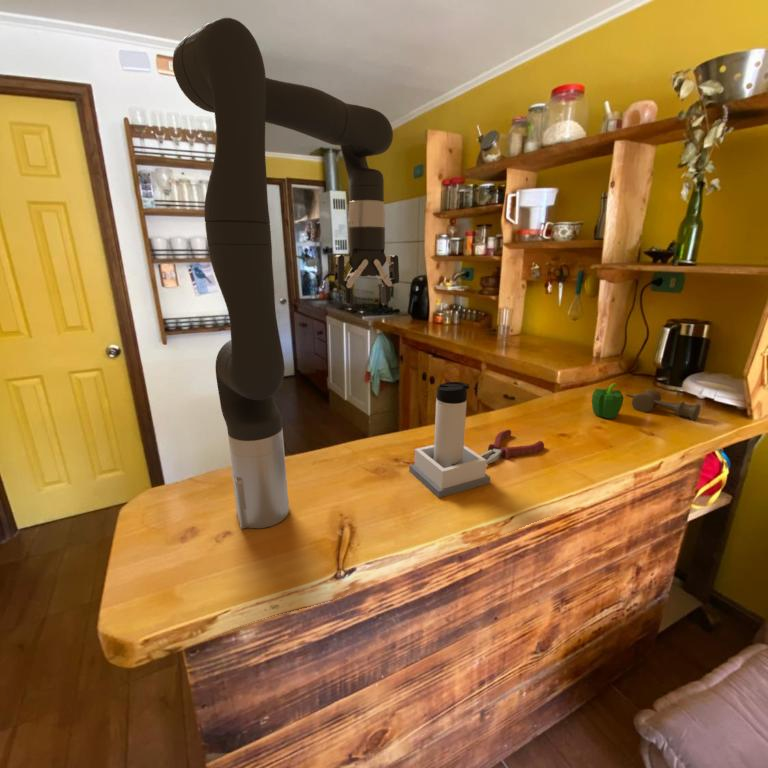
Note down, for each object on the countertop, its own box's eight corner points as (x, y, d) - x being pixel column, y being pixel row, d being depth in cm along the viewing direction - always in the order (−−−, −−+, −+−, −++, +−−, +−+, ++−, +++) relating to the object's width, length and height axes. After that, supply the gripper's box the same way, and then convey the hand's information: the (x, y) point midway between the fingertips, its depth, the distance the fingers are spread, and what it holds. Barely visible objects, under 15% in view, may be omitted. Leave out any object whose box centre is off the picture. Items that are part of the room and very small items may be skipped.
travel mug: (461, 479, 87) (467, 389, 81) (430, 474, 89) (433, 386, 83) (465, 465, 93) (471, 380, 87) (436, 461, 95) (440, 377, 89)
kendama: (691, 426, 119) (617, 406, 133) (700, 418, 125) (628, 400, 139) (697, 407, 117) (621, 388, 131) (705, 400, 124) (632, 383, 137)
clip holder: (438, 498, 83) (439, 473, 82) (409, 471, 94) (409, 449, 92) (489, 483, 89) (491, 460, 87) (456, 459, 99) (458, 438, 97)
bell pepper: (602, 422, 121) (608, 389, 118) (584, 412, 128) (589, 381, 125) (627, 420, 122) (633, 387, 119) (608, 410, 130) (613, 379, 127)
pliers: (458, 458, 100) (459, 448, 100) (506, 435, 113) (507, 427, 112) (499, 477, 92) (500, 466, 91) (545, 450, 105) (546, 441, 104)
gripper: (340, 223, 80) (343, 308, 85) (405, 225, 86) (404, 304, 91) (328, 225, 86) (331, 304, 91) (389, 227, 92) (389, 301, 97)
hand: (367, 304), depth 91 cm, fingers open, 8 cm apart
